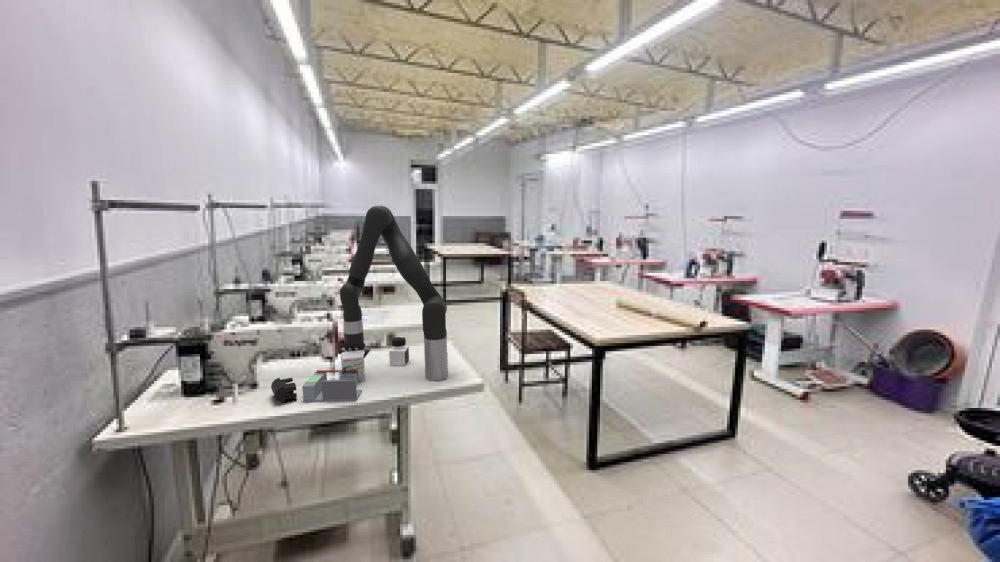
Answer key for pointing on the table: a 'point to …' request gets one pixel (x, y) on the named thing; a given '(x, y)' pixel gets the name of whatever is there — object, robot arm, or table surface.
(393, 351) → the medicine bottle
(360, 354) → the ink box
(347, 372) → the plunger
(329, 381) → the gauge body
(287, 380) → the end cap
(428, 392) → the table surface
